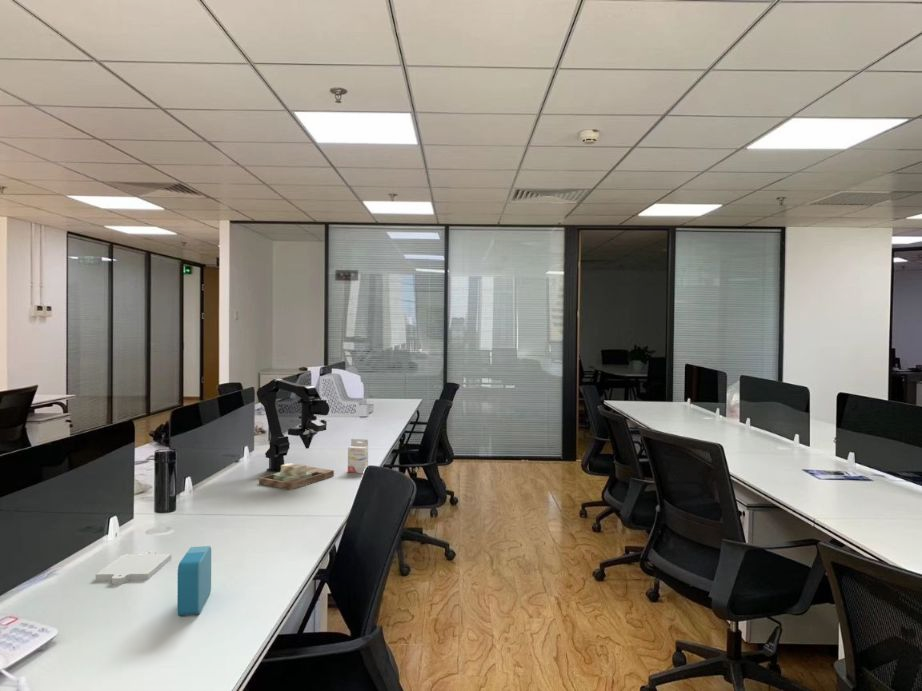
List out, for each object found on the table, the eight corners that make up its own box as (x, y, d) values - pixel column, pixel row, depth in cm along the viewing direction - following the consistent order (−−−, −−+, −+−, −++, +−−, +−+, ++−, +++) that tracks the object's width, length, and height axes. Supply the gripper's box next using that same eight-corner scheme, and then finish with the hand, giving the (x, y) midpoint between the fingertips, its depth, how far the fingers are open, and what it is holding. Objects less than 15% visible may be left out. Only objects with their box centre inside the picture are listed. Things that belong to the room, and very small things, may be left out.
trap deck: (259, 483, 235) (259, 477, 235) (303, 470, 258) (303, 465, 258) (290, 489, 227) (290, 483, 227) (333, 476, 250) (333, 470, 250)
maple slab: (280, 473, 244) (280, 465, 244) (289, 470, 248) (289, 463, 248) (297, 476, 239) (298, 468, 239) (306, 473, 243) (306, 465, 243)
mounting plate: (128, 557, 158) (128, 551, 158) (175, 557, 159) (175, 550, 159) (89, 586, 140) (89, 578, 140) (143, 585, 141) (143, 578, 141)
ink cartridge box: (347, 472, 257) (347, 440, 256) (350, 470, 262) (350, 438, 261) (365, 473, 256) (365, 441, 255) (368, 470, 261) (368, 439, 260)
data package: (191, 594, 136) (191, 544, 135) (211, 592, 137) (211, 543, 136) (177, 618, 124) (177, 565, 124) (199, 617, 125) (199, 563, 125)
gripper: (306, 417, 239) (305, 454, 239) (335, 412, 255) (335, 446, 255) (287, 415, 244) (286, 451, 244) (317, 410, 260) (316, 444, 261)
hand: (307, 448), depth 251 cm, fingers closed
